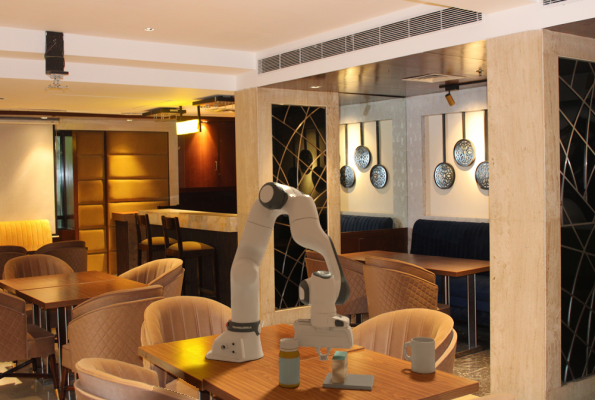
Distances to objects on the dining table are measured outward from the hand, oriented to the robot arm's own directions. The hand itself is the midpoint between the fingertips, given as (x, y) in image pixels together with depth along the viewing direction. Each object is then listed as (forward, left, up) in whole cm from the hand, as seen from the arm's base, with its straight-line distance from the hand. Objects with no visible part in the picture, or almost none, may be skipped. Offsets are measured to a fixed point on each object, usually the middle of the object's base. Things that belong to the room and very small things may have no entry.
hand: (323, 360), depth 195 cm
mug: (+32, +20, -8) cm, 38 cm away
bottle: (-11, -6, -7) cm, 14 cm away
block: (+5, 0, -6) cm, 8 cm away
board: (+9, 0, -7) cm, 11 cm away
